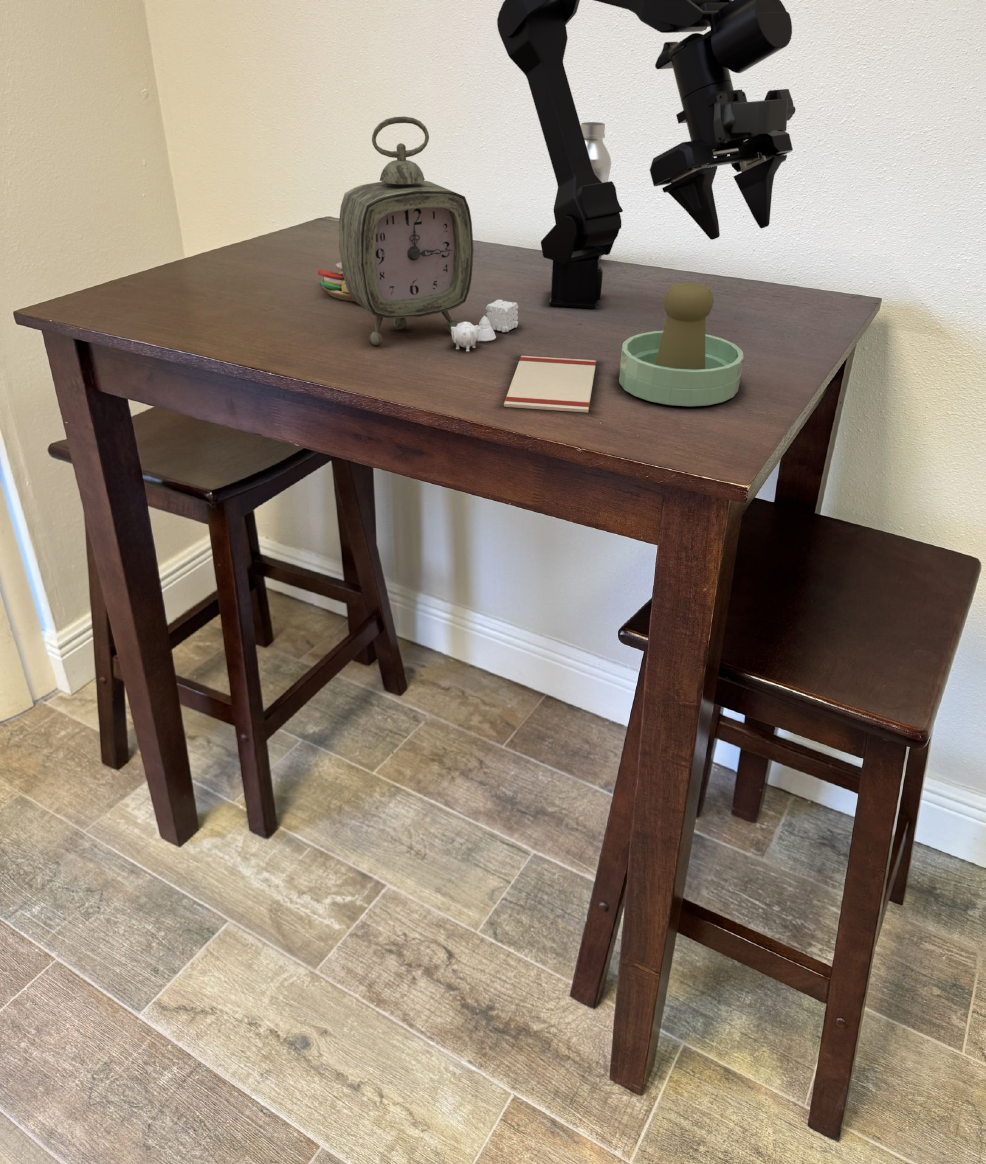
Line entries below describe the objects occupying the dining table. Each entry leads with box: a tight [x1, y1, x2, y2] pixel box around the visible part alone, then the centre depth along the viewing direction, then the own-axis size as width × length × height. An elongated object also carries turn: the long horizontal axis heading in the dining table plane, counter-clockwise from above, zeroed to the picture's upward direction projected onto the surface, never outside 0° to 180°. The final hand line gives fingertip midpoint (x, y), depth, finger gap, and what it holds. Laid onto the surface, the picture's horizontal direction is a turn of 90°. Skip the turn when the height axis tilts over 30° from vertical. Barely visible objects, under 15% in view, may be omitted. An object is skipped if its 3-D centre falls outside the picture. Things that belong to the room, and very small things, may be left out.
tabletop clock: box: [338, 116, 475, 346], centre depth 113 cm, size 14×9×25 cm, turn 117°
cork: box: [655, 281, 714, 370], centre depth 103 cm, size 6×6×11 cm
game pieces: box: [450, 299, 520, 352], centre depth 118 cm, size 12×3×3 cm, turn 149°
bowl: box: [618, 330, 745, 407], centre depth 105 cm, size 13×13×4 cm
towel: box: [503, 355, 597, 414], centre depth 106 cm, size 9×15×1 cm, turn 172°
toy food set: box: [317, 261, 357, 303], centre depth 134 cm, size 13×13×3 cm
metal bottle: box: [580, 121, 612, 261], centre depth 145 cm, size 6×7×20 cm
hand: (740, 232), depth 108 cm, fingers open, 9 cm apart
